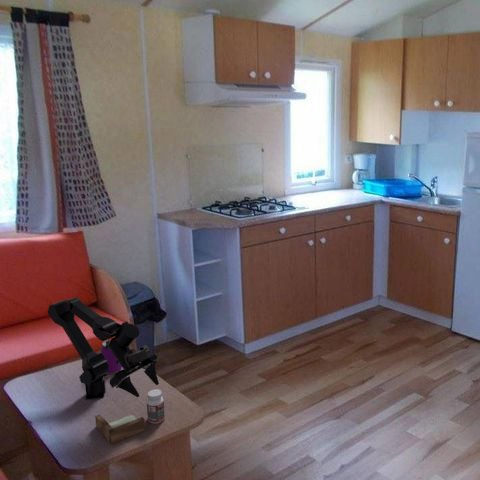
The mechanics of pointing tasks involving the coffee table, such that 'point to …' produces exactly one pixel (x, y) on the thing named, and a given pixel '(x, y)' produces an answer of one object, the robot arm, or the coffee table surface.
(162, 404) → the pill bottle
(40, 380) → the coffee table surface
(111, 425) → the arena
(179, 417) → the coffee table surface
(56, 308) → the robot arm
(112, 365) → the beverage can
